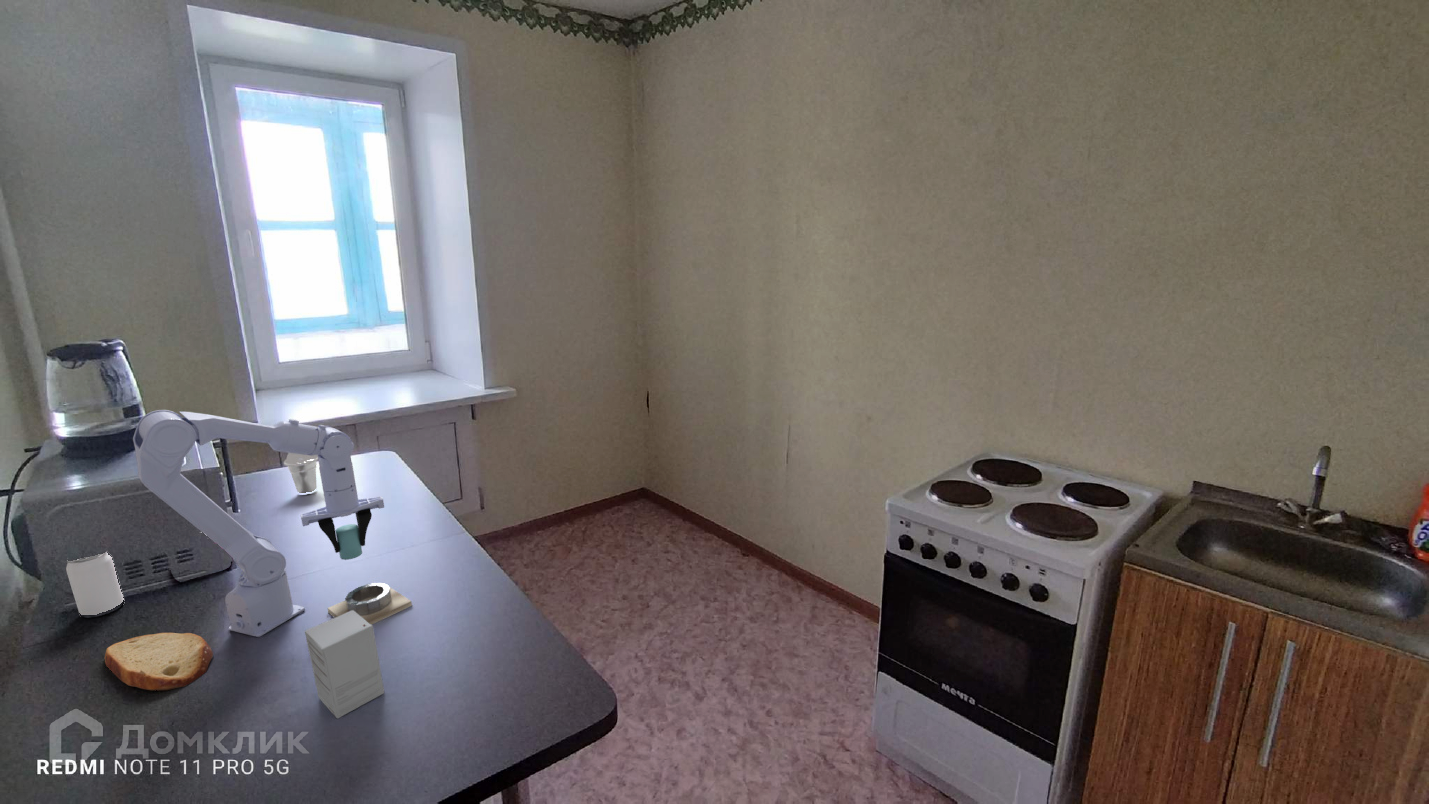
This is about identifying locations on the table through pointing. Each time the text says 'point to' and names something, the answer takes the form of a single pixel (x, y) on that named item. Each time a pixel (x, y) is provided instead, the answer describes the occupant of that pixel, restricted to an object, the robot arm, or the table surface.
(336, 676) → the supplement box
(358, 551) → the teal cylinder
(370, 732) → the table surface
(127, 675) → the slice of bread
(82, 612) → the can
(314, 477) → the cup with straw
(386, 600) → the socket collar
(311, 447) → the robot arm
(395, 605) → the dock plate
